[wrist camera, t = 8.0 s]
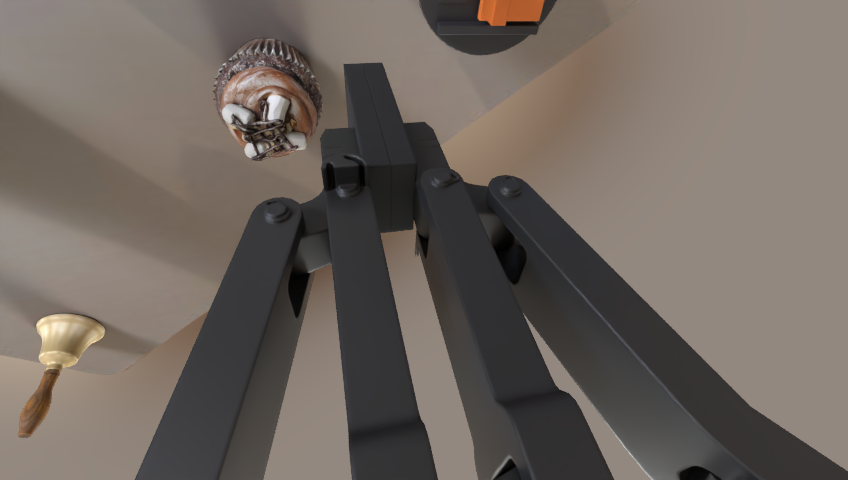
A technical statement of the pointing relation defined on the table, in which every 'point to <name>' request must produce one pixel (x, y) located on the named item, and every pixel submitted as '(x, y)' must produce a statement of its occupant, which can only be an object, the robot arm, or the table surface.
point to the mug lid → (476, 26)
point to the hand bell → (57, 360)
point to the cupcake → (268, 98)
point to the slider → (509, 11)
